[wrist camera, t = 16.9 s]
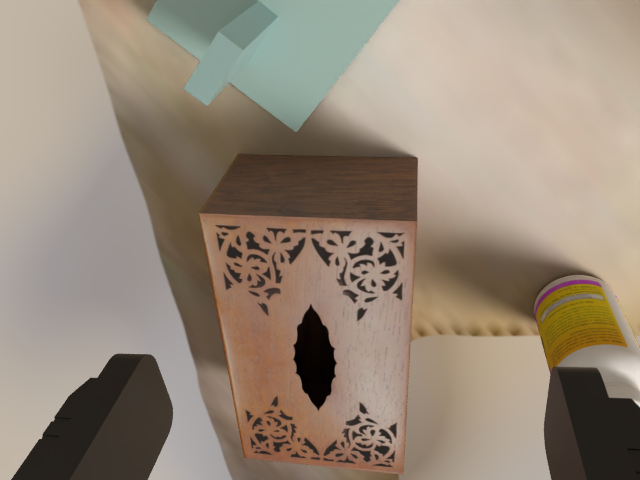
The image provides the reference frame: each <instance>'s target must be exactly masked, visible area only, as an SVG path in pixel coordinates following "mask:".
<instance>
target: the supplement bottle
mask: <svg viewBox="0 0 640 480" xmlns="http://www.w3.org/2000/svg"><path fill="white" fill-rule="evenodd" d="M534 314H535V319H536V322H537V326H538V330H539V334H540V337H541V341H542V345H543V348H544V352H545V356H546V359H547V363H548V367H549V370H550V374H551V370H552V368H553V367H554V366H557V367H596V368H597V369H598V370H599V372H600V374H601V376H602V379H603V382H604V385H605V387H606V390H607V393H608V396H609V398H632V399H633V401H634V402H635V403H636V404H637V405H638V406H639V407H640V346H639V344H638V342H637V340H636V338H635V336H634V333H633V331H632V329H631V327H630V325H629V323H628V321H627V318H626V316H625V314H624V312H623V310H622V308H621V305H620V303H619V301H618V299H617V297H616V295H615V293H614V292H613V290H612V289H611V287H610V286H608V285H607V284H606V283H605V282H603V281H602V280H600V279H597V278H595V277H592V276H587V275H571V276H566V277H562V278H559V279H557V280H555V281H553V282H551V283H549V284H548V285H547V286H546V287H544V288H543V289H542V291H541V292H540V293H539V295H538V296H537V298H536V301H535V304H534Z"/></svg>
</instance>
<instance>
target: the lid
mask: <svg viewBox="0 0 640 480" xmlns="http://www.w3.org/2000/svg"><path fill="white" fill-rule="evenodd" d="M398 1H399V0H156V2H155V4H154V6H153V8H152V10H151V12H150V14H149V16H148V18H147V19H146V20H147V21H148V22H150V23H151V24H152V25H154V26H155V27H156V28H158V29H159V30H160V31H162V32H163V33H164V34H166V35H167V36H168V37H170V38H171V39H172V40H174V41H175V42H176V43H178V44H179V45H180V46H182V47H183V48H184V49H186V50H187V51H188V52H190V53H191V54H192V55H193V56H195V57H196V58H197V59H199V60H200V63H199V64H198V66H197V68H196V69H195V71H194V73H193V74H192V76H191V78H190V79H189V81H188V82H187V84H186V86H185V87H184V90H186V91H187V92H188V93H190V94H191V95H193V96H194V97H195V98H197V99H198V100H199V101H201V102H202V103H203V104H205V105H206V106H208V105H209V104H210V103H211V102H212V101H213V100H214V99H215V97H216V96H217V95H218V94H219V93H220V92H221V91H222V90H223V89H224V88H225V87H226V86H227V85H228V84H229V83H231V84H232V85H233V86H235V87H236V88H237V89H239V90H240V91H241V92H243V93H244V94H245V95H247V96H248V97H249V98H251V99H252V100H253V101H255V102H256V103H257V104H259V105H260V106H261V107H263V108H264V109H265V110H267V111H268V112H269V113H271V114H272V115H273V116H275V117H276V118H277V119H279V120H280V121H281V122H283V123H284V124H285V125H287V126H288V127H289V128H290V129H292V130H293V131H294V132H297V131H298V130H299V129H300V127H301V126H302V125H303V123H304V122H305V121H306V120H307V118H308V117H309V116H310V114H311V113H312V112H313V111H314V109H315V108H316V107H317V105H318V104H319V103H320V102H321V100H322V99H323V98H324V96H325V95H326V94H327V93H328V91H329V90H330V89H331V87H332V86H333V85H334V84H335V82H336V81H337V80H338V78H339V77H340V76H341V75H342V73H343V72H344V71H345V69H346V68H347V67H348V66H349V64H350V63H351V62H352V60H353V59H354V58H355V57H356V55H357V54H358V53H359V51H360V50H361V49H362V48H363V46H364V45H365V44H366V42H367V41H368V40H369V39H370V37H371V36H372V35H373V33H374V32H375V31H376V30H377V28H378V27H379V26H380V24H381V23H382V22H383V21H384V19H385V18H386V17H387V15H388V14H389V13H390V12H391V10H392V9H393V8H394V6H395V5H396V4H397V3H398Z"/></svg>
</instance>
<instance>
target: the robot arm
mask: <svg viewBox="0 0 640 480" xmlns="http://www.w3.org/2000/svg"><path fill="white" fill-rule="evenodd" d="M172 419H173V407H172V403H171V400H170V397H169V394H168V392H167V389H166V386H165V383H164V381H163V378H162V375H161V373H160V370H159V367H158V364H157V362H156V360H155V358H154V357H153V356H152V355H147V354H115V355H114V356H112V358H111V359H110V360H109V361H108V363H107V364H106V366H105V367H104V369H103V370H102V372H101V373H100V375H99V377H98V378H90V379H89V380H88V381H86V382H85V383H84V384H83V385H82V386H80V387H79V388H78V389H77V390H76V391H74V392H73V393H72V394H71V395H70V396H69V397H68V398H67V400H66V401H65V403H64V404H63V406H62V407H61V408H60V410H59V412H58V413H57V414H56V416H55V420H54V422H51V423H50V424H49V426H48V427H47V429H46V430H45V432H44V433H43V437H42V439H39V440H38V442H37V443H36V445H35V446H34V448H33V449H32V450H31V452H30V453H29V455H28V456H27V458H26V459H25V461H24V462H23V464H22V465H21V466H20V468H19V469H18V471H17V472H16V474H15V475H14V477H13V478H12V479H11V480H148V478H149V475H150V473H151V471H152V469H153V467H154V465H155V463H156V460H157V458H158V456H159V454H160V452H161V449H162V447H163V445H164V443H165V441H166V439H167V437H168V434H169V432H170V428H171V425H172ZM544 438H545V449H546V455H547V460H548V465H549V470H550V475H551V479H552V480H640V407H639V406H638V405H637V404H636V403H635V402H634V401H633V399H632V398H609V396H608V393H607V390H606V387H605V385H604V382H603V379H602V376H601V374H600V372H599V370H598V369H597V368H596V367H557V366H554V367H553V368H552V370H551V376H550V383H549V391H548V399H547V406H546V414H545V422H544Z"/></svg>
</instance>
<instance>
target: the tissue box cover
mask: <svg viewBox="0 0 640 480" xmlns="http://www.w3.org/2000/svg"><path fill="white" fill-rule="evenodd" d="M417 172H418V158H398V157H346V156H293V155H241V154H238V155H237V157H236V158H235V160H234V161H233V163H232V164H231V166H230V167H229V169H228V170H227V172H226V173H225V175H224V176H223V178H222V179H221V181H220V182H219V184H218V185H217V187H216V188H215V190H214V191H213V193H212V194H211V196H210V197H209V199H208V200H207V202H206V203H205V205H204V206H203V208H202V209H201V211H200V212H199V217H200V222H201V228H202V233H203V239H204V244H205V249H206V255H207V260H208V266H209V271H210V276H211V282H212V287H213V293H214V298H215V303H216V309H217V314H218V320H219V325H220V330H221V336H222V341H223V347H224V352H225V358H226V363H227V368H228V374H229V379H230V385H231V390H232V395H233V401H234V406H235V412H236V417H237V422H238V428H239V433H240V439H241V444H242V449H243V455H244V458H247V459H256V460H266V461H276V462H286V463H295V464H305V465H315V466H324V467H334V468H344V469H353V470H363V471H373V472H382V473H392V474H402V475H403V472H404V452H405V435H406V416H407V397H408V378H409V360H410V342H411V323H412V304H413V286H414V267H415V249H416V230H417Z"/></svg>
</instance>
